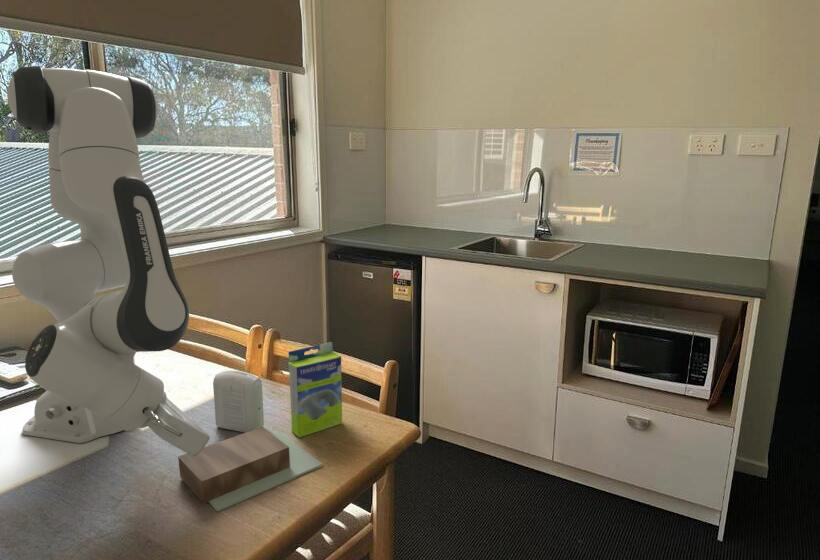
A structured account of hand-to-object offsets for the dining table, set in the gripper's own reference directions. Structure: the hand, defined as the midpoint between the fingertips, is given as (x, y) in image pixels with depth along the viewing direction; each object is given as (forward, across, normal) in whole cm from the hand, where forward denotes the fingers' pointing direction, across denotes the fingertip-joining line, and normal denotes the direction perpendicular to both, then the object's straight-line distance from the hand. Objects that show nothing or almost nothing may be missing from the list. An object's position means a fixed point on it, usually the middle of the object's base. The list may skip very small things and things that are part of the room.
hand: (202, 436), depth 95 cm
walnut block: (+3, 0, +7) cm, 7 cm away
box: (+25, +5, -12) cm, 28 cm away
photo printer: (+17, +16, -3) cm, 23 cm away
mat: (+13, 0, +1) cm, 13 cm away
